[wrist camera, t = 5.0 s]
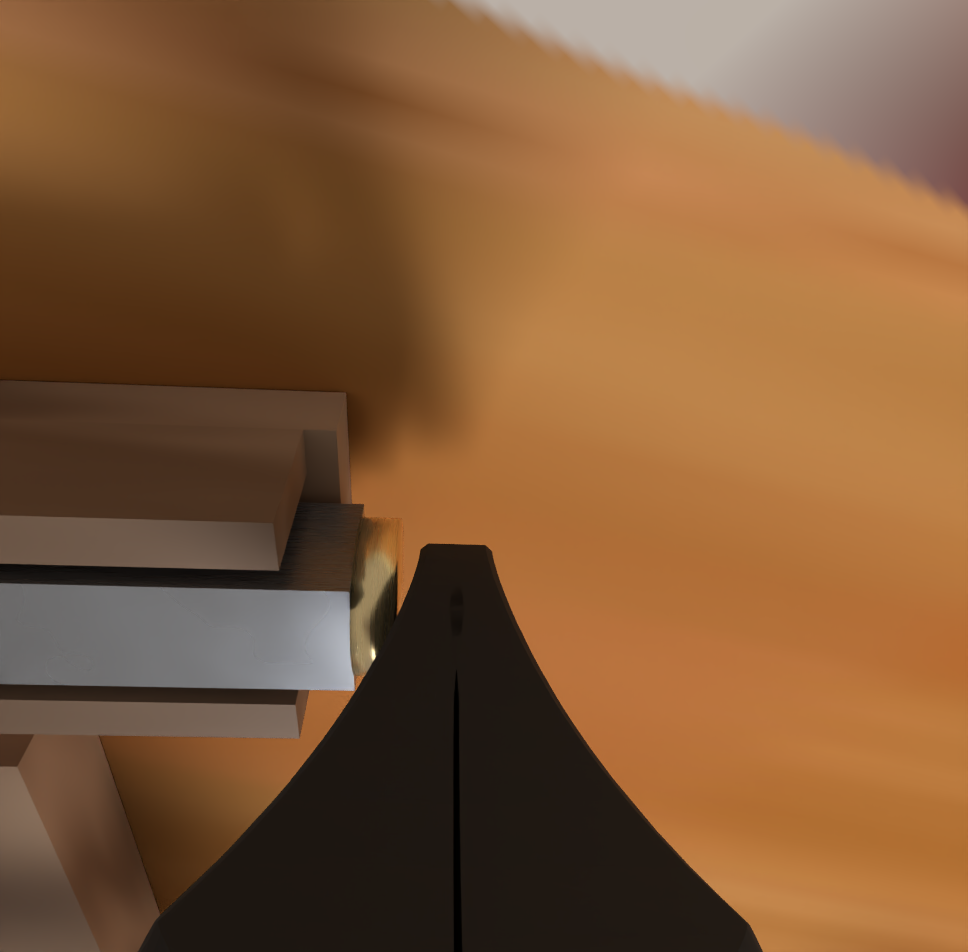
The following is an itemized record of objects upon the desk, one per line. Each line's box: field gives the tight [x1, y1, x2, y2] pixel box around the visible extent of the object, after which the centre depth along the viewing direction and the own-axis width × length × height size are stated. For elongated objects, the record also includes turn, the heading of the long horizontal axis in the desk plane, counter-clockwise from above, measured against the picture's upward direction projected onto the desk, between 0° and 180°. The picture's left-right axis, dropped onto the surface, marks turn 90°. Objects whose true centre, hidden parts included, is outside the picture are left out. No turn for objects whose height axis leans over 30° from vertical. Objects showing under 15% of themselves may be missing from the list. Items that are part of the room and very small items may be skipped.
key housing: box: [0, 380, 352, 738], centre depth 13 cm, size 4×10×4 cm, turn 87°
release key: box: [0, 502, 404, 691], centre depth 12 cm, size 2×9×2 cm, turn 87°
